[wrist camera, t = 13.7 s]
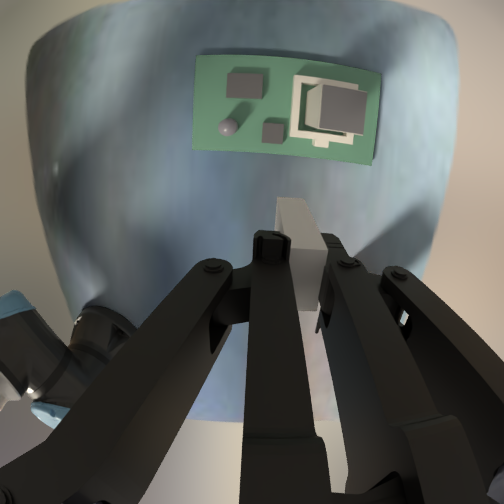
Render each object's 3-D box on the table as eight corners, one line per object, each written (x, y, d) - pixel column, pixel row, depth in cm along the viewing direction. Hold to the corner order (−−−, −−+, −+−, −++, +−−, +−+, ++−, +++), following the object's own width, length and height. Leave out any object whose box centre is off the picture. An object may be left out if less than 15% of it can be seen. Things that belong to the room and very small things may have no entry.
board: (194, 148, 34) (186, 152, 31) (198, 57, 29) (190, 51, 26) (368, 164, 34) (377, 169, 30) (377, 74, 28) (388, 71, 25)
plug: (304, 124, 31) (318, 129, 22) (306, 91, 29) (322, 83, 20) (337, 128, 31) (364, 136, 22) (340, 96, 29) (368, 91, 20)
